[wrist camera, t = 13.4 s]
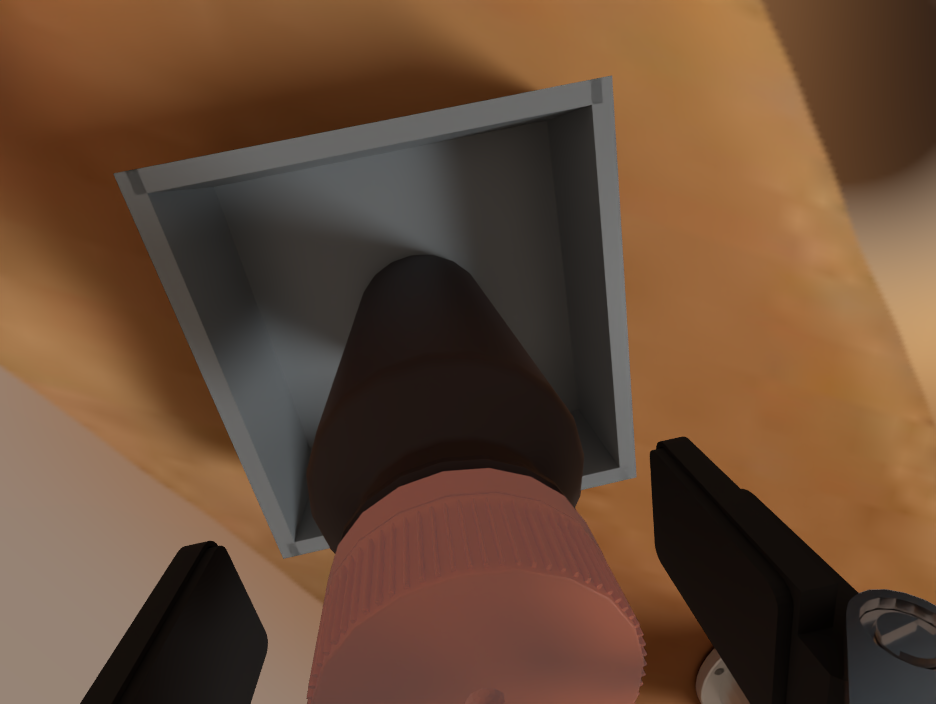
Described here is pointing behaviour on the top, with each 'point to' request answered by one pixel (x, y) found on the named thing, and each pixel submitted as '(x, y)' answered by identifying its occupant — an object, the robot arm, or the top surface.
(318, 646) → the vinegar
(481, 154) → the tote
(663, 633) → the top surface
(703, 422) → the top surface
